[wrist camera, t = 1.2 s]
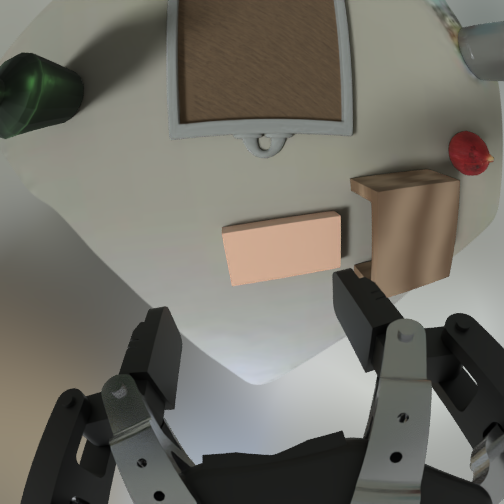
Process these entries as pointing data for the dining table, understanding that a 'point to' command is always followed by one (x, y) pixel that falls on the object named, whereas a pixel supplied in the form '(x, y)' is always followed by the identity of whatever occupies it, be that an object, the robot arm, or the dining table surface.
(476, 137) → the onion
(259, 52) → the grey framed board
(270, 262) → the tile
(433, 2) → the dining table surface
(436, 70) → the dining table surface
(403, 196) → the cubby
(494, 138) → the dining table surface
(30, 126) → the potion bottle
